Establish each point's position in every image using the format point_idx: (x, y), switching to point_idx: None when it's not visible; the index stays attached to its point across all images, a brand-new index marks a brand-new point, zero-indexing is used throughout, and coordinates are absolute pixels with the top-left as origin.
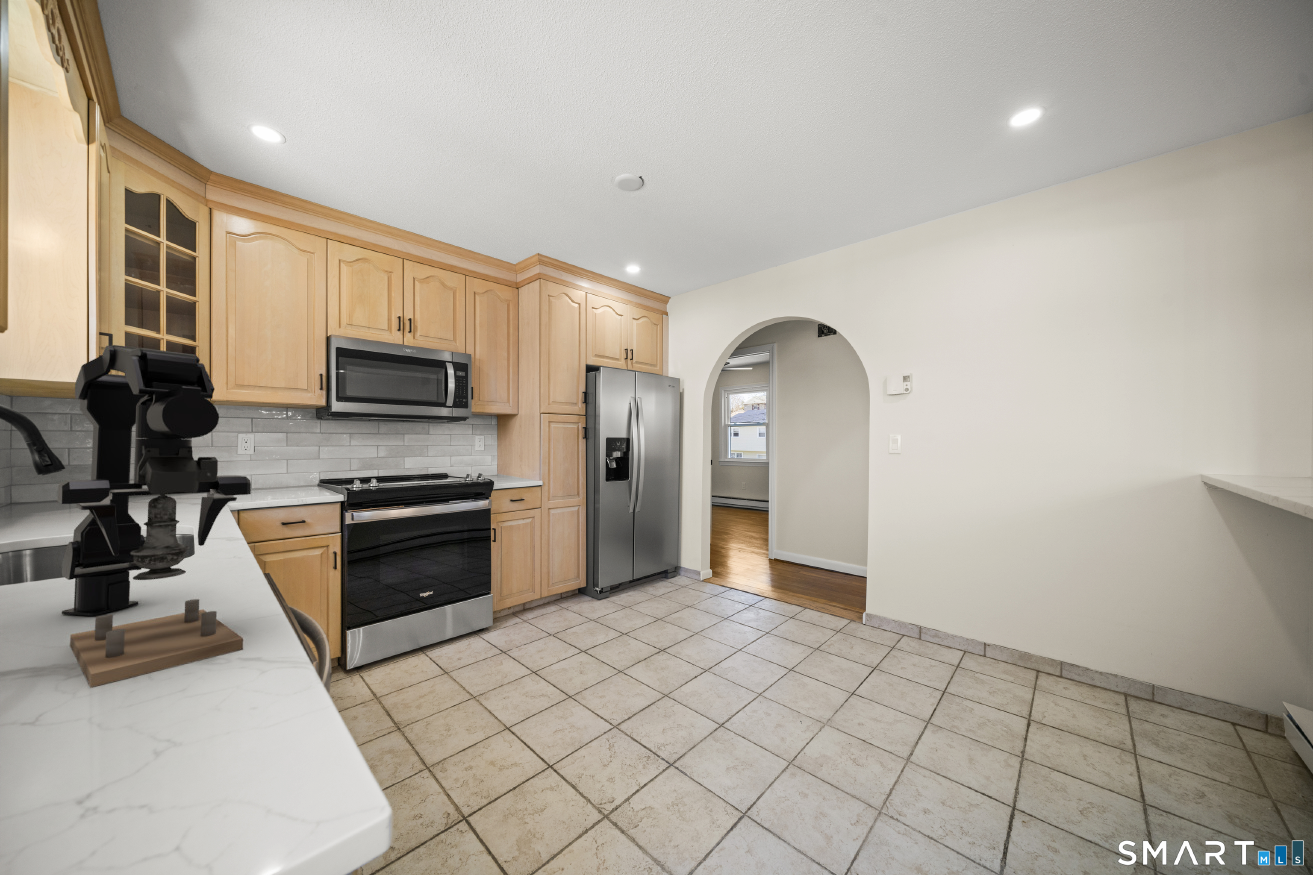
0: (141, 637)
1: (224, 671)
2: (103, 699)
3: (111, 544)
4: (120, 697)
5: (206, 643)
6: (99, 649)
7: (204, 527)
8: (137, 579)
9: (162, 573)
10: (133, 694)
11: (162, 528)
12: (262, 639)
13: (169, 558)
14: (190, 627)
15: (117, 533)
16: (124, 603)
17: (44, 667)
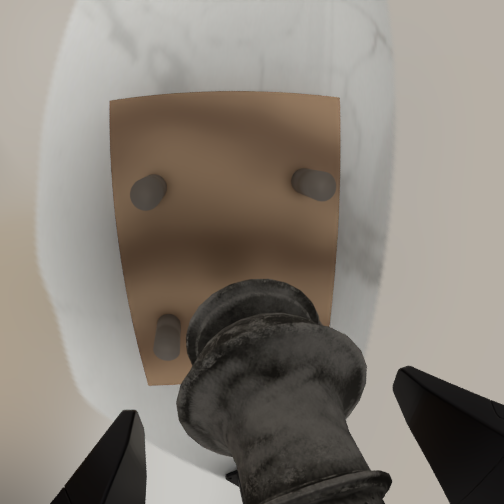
0: (254, 268)
1: (173, 9)
2: (320, 35)
3: (442, 380)
4: (303, 23)
5: (168, 117)
6: (314, 243)
7: (109, 474)
8: (315, 310)
9: (257, 310)
10: (289, 19)
11: (325, 462)
12: (76, 143)
13: (255, 319)
14: (174, 273)
15: (460, 408)
16: None
17: (357, 266)
